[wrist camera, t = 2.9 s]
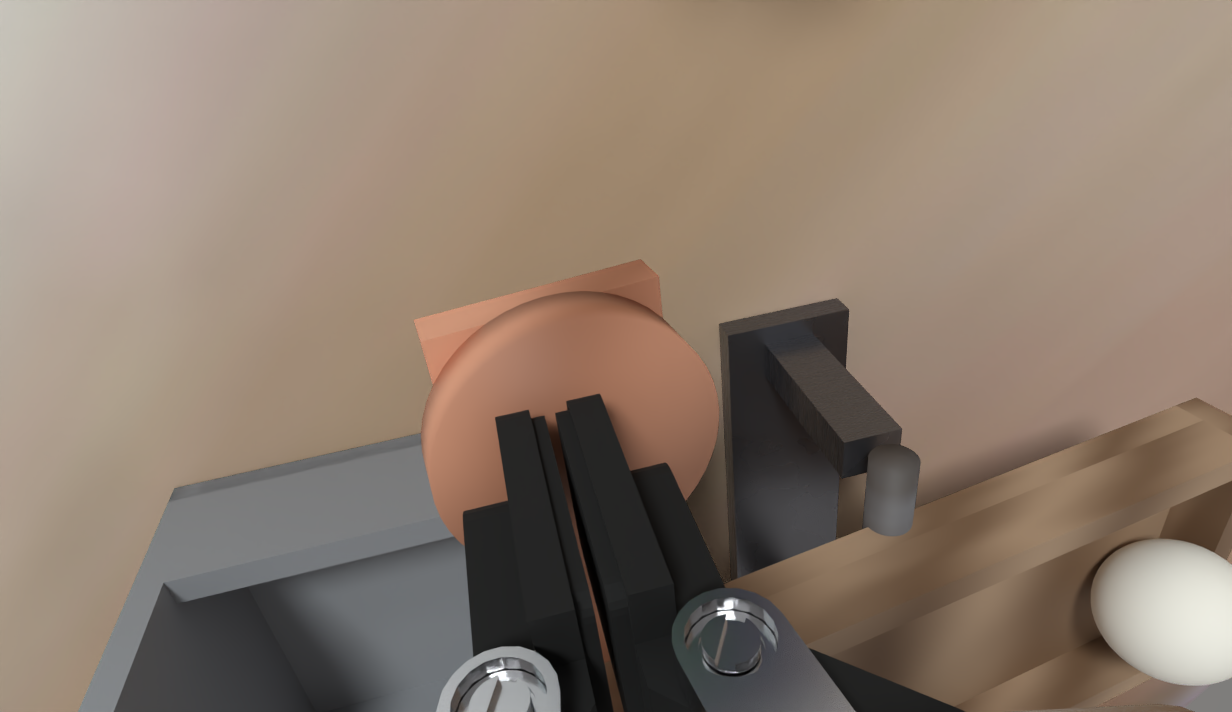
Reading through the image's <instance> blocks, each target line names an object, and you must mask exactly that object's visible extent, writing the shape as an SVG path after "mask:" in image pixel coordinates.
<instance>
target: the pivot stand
mask: <svg viewBox="0 0 1232 712" xmlns="http://www.w3.org/2000/svg"><path fill="white" fill-rule="evenodd" d="M848 320H849V309H848V308H847V307H846V306H845V305H844V304H843V303H842V302H841V301H839V300H838V299H832V300H827V301H823V302H818V303H814V304H809V305H804V306H800V307H795V308H790V309H786V310H781V311H776V312H772V313H767V314H763V315H758V316H753V317H749V318H744V319H739V320H735V321H730V322H725V323H721V324H719V331H720V352H721V373H722V395H723V416H724V437H725V459H726V480H727V501H728V523H729V544H730V565H731V581H732V580H735V579H738V578H740V577H743V576H745V575H748V574H750V573H753V572H755V571H758V570H760V569H763V568H765V567H768V566H770V565H773V564H776V563H778V562H781V561H783V560H786V559H788V558H791V557H793V556H796V555H798V554H801V553H803V552H806V551H809V550H811V549H814V548H816V547H819V546H821V545H824V544H826V543H829V542H831V541H834V540H836V526H837V509H838V492H839V475H840V477H841V478H846V477H850V476H854V475H858V474H862V473H866V472H867V466H868V456H869V453H870V451H871V450H872V449H874V448H875V447H877V446H880V445H885V444H895V445H900V443H901V434H902V428H901V427H900V426H899V425H898V424H897V423H896V422H895V421H894V420H893V419H892V418H891V417H890V415H889V414H888V413H887V412H886V411H885V410H884V409H883V408H882V407H881V406H880V405H879V404H878V403H877V402H876V401H875V399H874V398H873V397H872V396H871V395H870V394H869V393H868V392H867V391H866V390H865V389H864V388H863V387H862V386H861V385H860V383H859V382H858V381H857V380H856V379H855V378H854V377H853V376H852V375H851V374H850V373H849V372H848V371H847V370H846V354H847V337H848Z"/></svg>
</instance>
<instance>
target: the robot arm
mask: <svg viewBox="0 0 1232 712" xmlns="http://www.w3.org/2000/svg"><path fill="white" fill-rule="evenodd" d="M566 404H567V410H566V411H561V412H557V413H555V416H556V422H557V427H558V432H559V437H560V442H561V447H562V452H563V458H564V463H565V468H566V473H567V478H568V483H569V488H570V494H571V499H572V504H573V509H574V514H575V519H576V524H577V529H578V535H579V539H580V544H581V548H582V553H583V557H584V560H585V564H586V568H587V572H588V576H589V580H590V583H591V587H592V591H593V595H594V599H595V603H596V606H597V610H598V614H599V618H600V622H601V626H602V629H603V633H604V637H605V641H606V645H607V648H608V652H609V656H610V660H611V664H612V668H613V671H614V675H615V679H616V683H617V687H618V691H619V694H620V698H621V702H622V706H623V710H624V712H965V711H963V710H961V709H959V708H956V707H954V706H951V705H949V704H946V703H944V702H941V701H939V700H937V699H934V698H932V697H929V696H927V695H924V694H922V693H919V692H917V691H914V690H912V689H909V688H907V687H904V686H902V685H900V684H897V683H895V682H892V681H890V680H887V679H885V678H882V677H880V676H877V675H875V674H872V673H870V672H867V671H865V670H862V669H860V668H858V667H855V666H853V665H850V664H848V663H845V662H843V661H840V660H838V659H835V658H833V657H830V656H828V655H825V654H823V653H821V652H818V651H816V650H813V649H811V648H808V647H807V645H806V644H805V643H804V641H803V640H802V639H801V637H800V636H799V635H798V633H797V632H796V631H795V629H794V628H793V627H792V625H791V624H790V623H789V621H788V620H787V619H786V617H785V616H784V614H783V613H782V612H781V611H780V610H779V609H778V608H777V607H776V606H775V605H774V604H773V603H772V602H771V601H770V600H768V599H766V598H764V597H762V596H760V595H759V594H757V593H755V592H751V591H747V590H743V589H739V588H725V586H724V584H723V581H722V579H721V577H720V575H719V573H718V570H717V568H716V566H715V564H714V562H713V560H712V557H711V555H710V553H709V551H708V549H707V547H706V544H705V542H704V540H703V538H702V536H701V534H700V531H699V529H698V527H697V525H696V523H695V521H694V518H693V516H692V514H691V512H690V510H689V508H688V505H687V503H686V501H685V499H684V497H683V495H682V492H681V490H680V488H679V486H678V484H677V481H676V479H675V477H674V475H673V473H672V471H671V469H670V467H669V465H668V464H667V463H666V462H665V463H660V464H656V465H652V466H648V467H644V468H640V469H636V470H632V471H630V469H629V467H628V464H627V462H626V459H625V456H624V454H623V451H622V449H621V446H620V443H619V441H618V438H617V436H616V433H615V430H614V428H613V425H612V423H611V420H610V417H609V415H608V412H607V410H606V407H605V405H604V402H603V399H602V397H601V395H600V394H595V395H591V396H586V397H582V398H577V399H573V400H568V401H566ZM495 421H496V428H497V434H498V440H499V447H500V453H501V460H502V466H503V472H504V479H505V485H506V491H507V498H508V501H504V502H500V503H495V504H491V505H487V506H483V507H479V508H475V509H471V510H466V511H463V531H464V543H465V556H466V569H467V582H468V595H469V608H470V621H471V634H472V647H473V658H471V659H470V660H468V661H466V662H465V663H464V664H463V665H462V666H461V667H460V668H459V669H458V670H457V671H456V672H455V673H454V674H453V675H452V676H451V678H450V679H449V681H448V682H447V684H446V685H445V687H444V689H443V690H442V693H441V696H440V700H439V703H438V706H437V711H436V712H614V710H613V705H612V700H611V695H610V690H609V684H608V679H607V674H606V669H605V664H604V659H603V654H602V648H601V643H600V638H599V633H598V628H597V623H596V618H595V613H594V608H593V604H592V599H591V595H590V591H589V587H588V583H587V579H586V575H585V571H584V567H583V563H582V560H581V556H580V552H579V548H578V544H577V540H576V536H575V532H574V528H573V525H572V521H571V517H570V513H569V509H568V505H567V501H566V497H565V493H564V490H563V486H562V482H561V478H560V474H559V470H558V466H557V462H556V458H555V455H554V451H553V447H552V443H551V439H550V435H549V431H548V427H547V423H546V420H545V416H539V417H535V418H531V416H530V412H529V410H524V411H520V412H516V413H511V414H507V415H502V416H498V417H495ZM1012 712H1193V711H1191V710H1188V709H1186V708H1183V707H1180V706H1171V705H1162V704H1147V705H1128V706H1109V707H1089V708H1070V709H1050V710H1031V711H1012Z"/></svg>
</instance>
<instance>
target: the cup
mask: <svg viewBox="0 0 1232 712" xmlns="http://www.w3.org/2000/svg"><path fill="white" fill-rule="evenodd" d="M471 658H473V647H472V634H471V621H470V608H469V595H468V582H467V569H466V556H465V546H464V545H462V544H461V543H460V542H459V541H458V540H457V539H456V538H455V537H454V536H453V535H452V533H451V532H450V531H449V530H448V528H447V527H446V525H445V524H444V522H443V521H442V519H441V517H440V515H439V513H438V510H437V508H436V506H435V503H434V499H433V495H432V491H431V487H430V483H429V479H428V475H427V471H426V467H425V462H424V458H423V454H422V446H421V433H420V434H416V435H411V436H407V437H402V438H398V439H393V440H389V441H384V442H380V443H375V444H371V445H366V446H362V447H357V448H353V449H348V450H344V451H340V452H335V453H331V454H326V455H322V456H317V457H313V458H308V459H304V460H299V461H295V462H290V463H286V464H281V465H277V466H272V467H268V468H263V469H259V470H255V471H250V472H246V473H241V474H237V475H232V476H228V477H223V478H219V479H214V480H210V481H205V482H201V483H196V484H192V485H187V486H183V487H178V488H174V490H173V493H172V495H171V497H170V500H169V502H168V504H167V507H166V509H165V511H164V514H163V516H162V518H161V521H160V523H159V525H158V527H157V530H156V532H155V534H154V537H153V539H152V541H151V544H150V546H149V548H148V551H147V553H146V555H145V558H144V560H143V562H142V565H141V567H140V569H139V572H138V574H137V576H136V579H135V581H134V583H133V585H132V588H131V590H130V592H129V595H128V597H127V599H126V602H125V604H124V606H123V609H122V611H121V613H120V616H119V618H118V620H117V623H116V625H115V627H114V630H113V632H112V634H111V637H110V639H109V641H108V644H107V646H106V648H105V650H104V653H103V655H102V657H101V660H100V662H99V664H98V667H97V669H96V671H95V674H94V676H93V678H92V681H91V683H90V685H89V688H88V690H87V692H86V695H85V697H84V699H83V702H82V704H81V706H80V709H79V711H78V712H436V711H437V706H438V703H439V700H440V696H441V693H442V690H443V689H444V687H445V685H446V684H447V682H448V681H449V679H450V678H451V676H452V675H453V674H454V673H455V672H456V671H457V670H458V669H459V668H460V667H461V666H462V665H463V664H464V663H465V662H466V661H468V660H470V659H471Z"/></svg>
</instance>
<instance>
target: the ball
mask: <svg viewBox="0 0 1232 712" xmlns="http://www.w3.org/2000/svg"><path fill="white" fill-rule="evenodd" d="M1091 608H1092V614H1093V617H1094V620H1095V623H1096V625H1097V627H1098V629H1099V631H1100V633H1101V634H1102V636H1103V638H1104V639H1105V641H1106V642H1107V643H1108V645H1109V646H1110V647H1111V648H1112V649H1113V650H1114V651H1115V652H1116V653H1117V654H1118V655H1119V656H1120V657H1121V658H1122V659H1123V660H1125V661H1126V662H1127V663H1128V664H1130V665H1131V666H1133V667H1134V668H1136V669H1138V670H1139V671H1141V672H1143V673H1145V674H1147V675H1149V676H1151V677H1154V678H1156V679H1159V680H1162V681H1165V682H1169V683H1173V684H1180V685H1192V686H1199V685H1209V684H1214V683H1218V682H1221V681H1224V680H1227V679H1229V678H1231V677H1232V565H1231V564H1230V563H1229V562H1228V561H1226V560H1225V559H1223V558H1222V557H1220V556H1219V555H1217V554H1215V553H1214V552H1212V551H1210V550H1208V549H1206V548H1203V547H1201V546H1198V545H1195V544H1193V543H1189V542H1185V541H1180V540H1173V539H1147V540H1142V541H1137V542H1134V543H1131V544H1129V545H1126V546H1124V547H1122V548H1120V549H1118V550H1117V551H1115V552H1114V553H1112V554H1111V555H1110V556H1109V557H1108V558H1107V559H1106V560H1105V561H1104V562H1103V563H1102V564H1101V566H1100V567H1099V569H1098V571H1097V573H1096V575H1095V577H1094V579H1093V583H1092V588H1091Z"/></svg>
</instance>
